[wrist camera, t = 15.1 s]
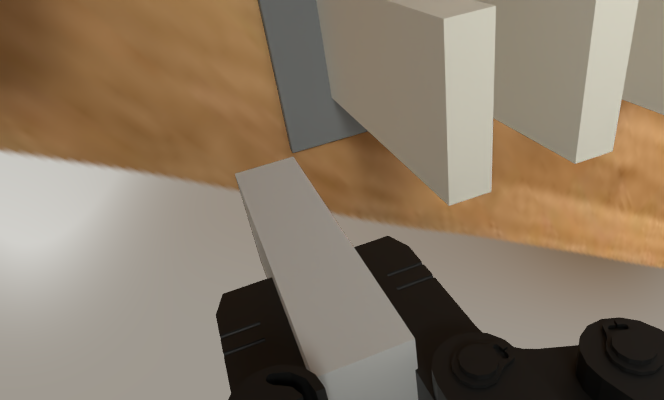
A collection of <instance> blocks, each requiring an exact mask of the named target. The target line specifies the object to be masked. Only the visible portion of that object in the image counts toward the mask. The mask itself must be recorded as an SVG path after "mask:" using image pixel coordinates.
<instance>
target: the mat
mask: <svg viewBox="0 0 664 400" xmlns="http://www.w3.org/2000/svg"><path fill="white" fill-rule="evenodd" d="M258 3H259V8H260V12H261V17H262V21H263V26H264V31H265V35H266V40H267V44H268V49H269V53H270V58H271V62H272V67H273V71H274V76H275V81H276V85H277V90H278V94H279V99H280V103H281V108H282V112H283V117H284V121H285V126H286V130H287V135H288V140H289V144H290V149H291V151H292V152H293V153H295V152H298V151H301V150H305V149H308V148H312V147H315V146H319V145H322V144H325V143H329V142H332V141H336V140H339V139H343V138H346V137H349V136H353V135H356V134H360V133H363V132H367V130H366V129H365V128H364V127H363V126H362V125H361V124H360V123H359V122H358V121H357V120H355V119H354V118H353V117H352V116H351V115H350V114H349V113H348V112H347V111H346V110H345V109H343V108H342V107H341V106H340V105H339V104H338V103H337V102H336V101H335V100H334V99H333V98H332V96H331V90H330V84H329V77H328V71H327V65H326V59H325V52H324V46H323V40H322V34H321V27H320V21H319V15H318V9H317V2H316V0H258Z"/></svg>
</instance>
